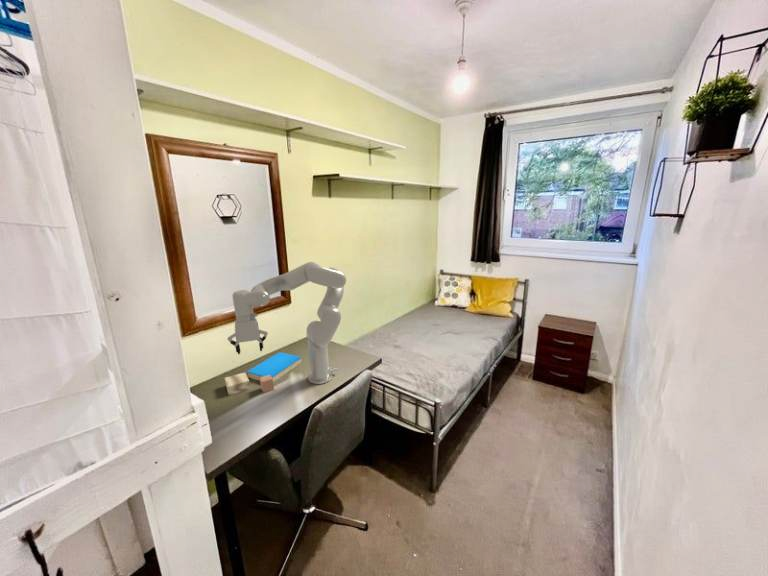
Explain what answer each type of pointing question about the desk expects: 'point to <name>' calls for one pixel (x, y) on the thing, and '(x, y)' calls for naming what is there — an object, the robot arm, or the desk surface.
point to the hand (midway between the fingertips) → (250, 351)
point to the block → (266, 383)
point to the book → (274, 366)
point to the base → (237, 383)
